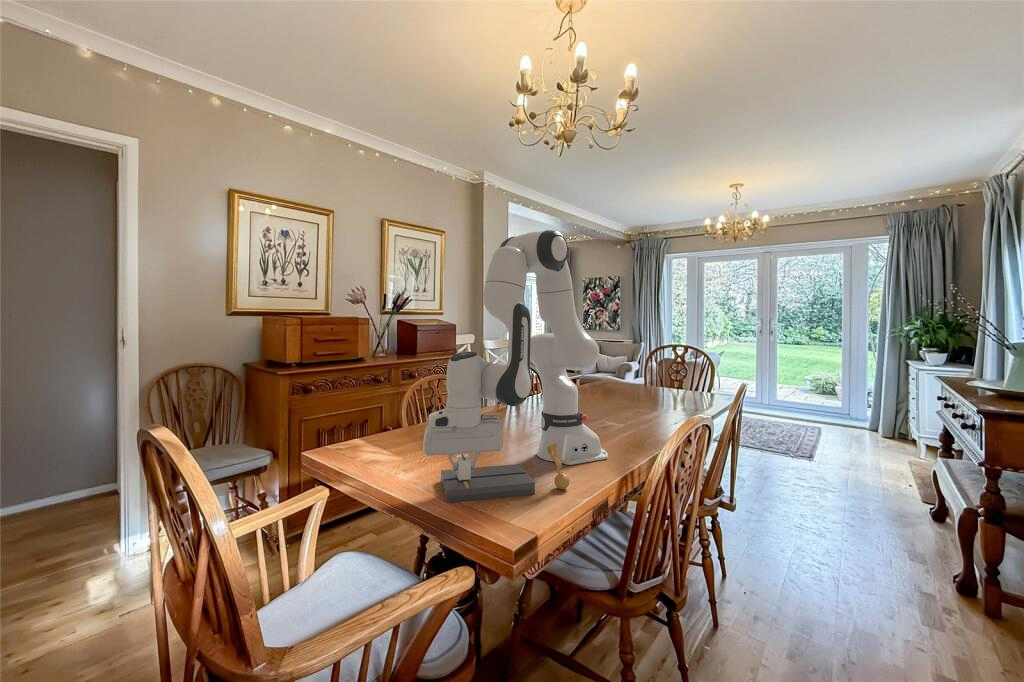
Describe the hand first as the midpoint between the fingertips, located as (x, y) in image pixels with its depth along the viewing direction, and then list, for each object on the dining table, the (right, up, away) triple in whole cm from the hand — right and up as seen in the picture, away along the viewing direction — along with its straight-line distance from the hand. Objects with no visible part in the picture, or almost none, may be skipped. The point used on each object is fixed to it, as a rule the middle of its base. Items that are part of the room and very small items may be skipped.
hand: (463, 469), depth 113 cm
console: (+6, -5, +2) cm, 8 cm away
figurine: (+24, -6, +2) cm, 25 cm away
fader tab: (0, -4, 0) cm, 4 cm away
